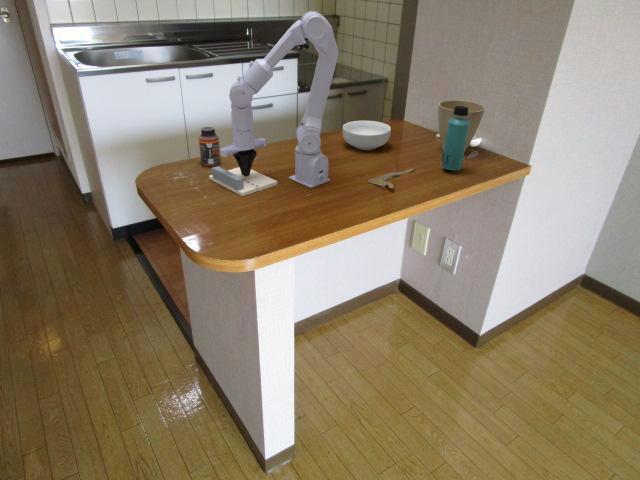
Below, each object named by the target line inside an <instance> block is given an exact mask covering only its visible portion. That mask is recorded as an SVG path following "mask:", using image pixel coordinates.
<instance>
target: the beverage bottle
mask: <svg viewBox="0 0 640 480" xmlns="http://www.w3.org/2000/svg"><path fill="white" fill-rule="evenodd" d="M453 114H455V115H458V116H467V115H468V107H465V106H456V107H455V109H454V112H453ZM469 125H470V122H469V121H468V120H467V119H466V118H464V117H453V118H451V119H450V120H449V121H448V128H447V133H446V138H445V139H446V140H445V146H444V152H443V151H442V156H441V163H440V164H441V168H443V169H446V170H450V171H460V170H461V169H462V167H463V163H464V159H465V157H464V156H465V154H466V153H465V152H466V151H465V147H466V140H467V135H468V130H469Z"/></svg>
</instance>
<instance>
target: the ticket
mask: <svg viewBox="0 0 640 480" xmlns="http://www.w3.org/2000/svg"><path fill="white" fill-rule="evenodd" d="M227 171H229V172H231V173H233V174H235V175H237V176H239V177H241V178H243V181H244V182H246V183H248V184H250V185H252V186H254V187H256V188H257V192H260V191H263V190H266V189H269V188H271V187H274V186H277V185H278V181H277V180H275V179H273V178H271V177H269V176H266V175H264V174H262V173H260V172H258V171H256V170H254V169H251V171H250V176H243V175H242V173H241V170H240V167H239V166H238V167H234V168H232V169H228V170H227Z"/></svg>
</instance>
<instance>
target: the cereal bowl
mask: <svg viewBox="0 0 640 480" xmlns="http://www.w3.org/2000/svg"><path fill="white" fill-rule="evenodd" d="M391 129H392V128H391V126H390V125H389V124H386V123H384V122H380V121H376V120H354V121H353V120H352V121H348V122H347V123H345V124H343V125H342V136H343V140H344V141H345V142H346V143H347V144H349V145H350V146H352V147H355V148H356V149H357V150H361V151H373V150H375V149H377V148H379V147H382V146H384V145H385V144H386V143H387V142H388V141H389V140H390V137H391Z"/></svg>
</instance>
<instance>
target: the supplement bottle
mask: <svg viewBox="0 0 640 480" xmlns="http://www.w3.org/2000/svg"><path fill="white" fill-rule="evenodd" d="M215 129H216V128H215V127H214V126H213V127H212V126H204V127H201V129H200V131H201V132H200V133H201V134H200V135H199V136H198V143H199V154H200V163H201V165H202V166H203V167H209V168H213V167H217V166H220V165H221V155H220V149H221V148H220V141H219V139H220V138H219V136H218V134H216V130H215Z"/></svg>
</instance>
